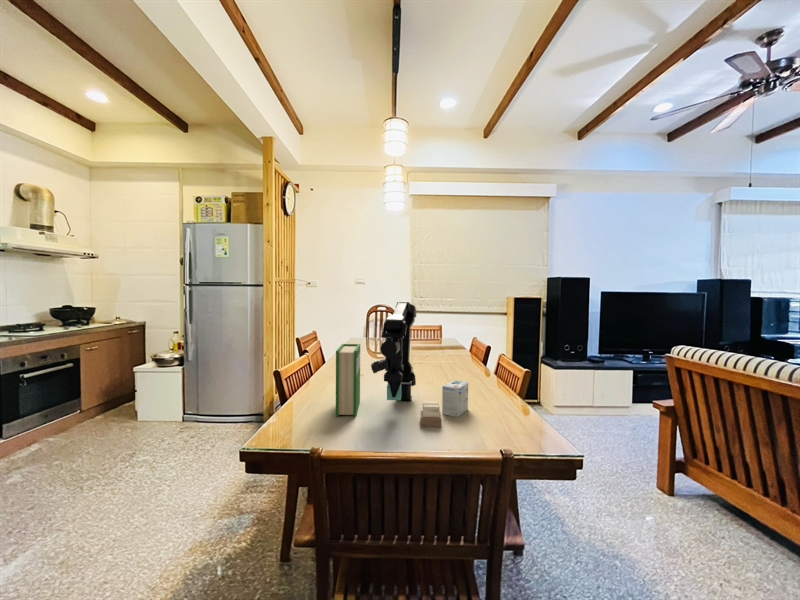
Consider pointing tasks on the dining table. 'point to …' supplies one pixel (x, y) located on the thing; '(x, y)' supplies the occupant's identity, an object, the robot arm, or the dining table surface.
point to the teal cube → (389, 395)
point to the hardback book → (347, 379)
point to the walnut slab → (430, 421)
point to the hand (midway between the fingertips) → (394, 395)
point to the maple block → (431, 409)
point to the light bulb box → (455, 398)
